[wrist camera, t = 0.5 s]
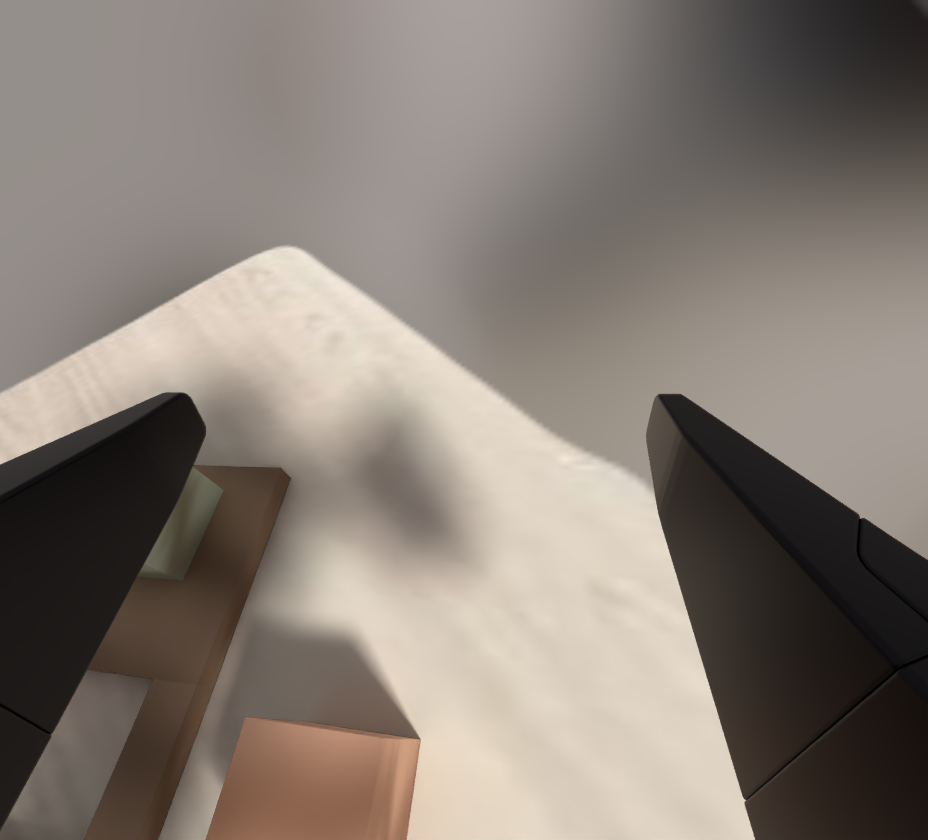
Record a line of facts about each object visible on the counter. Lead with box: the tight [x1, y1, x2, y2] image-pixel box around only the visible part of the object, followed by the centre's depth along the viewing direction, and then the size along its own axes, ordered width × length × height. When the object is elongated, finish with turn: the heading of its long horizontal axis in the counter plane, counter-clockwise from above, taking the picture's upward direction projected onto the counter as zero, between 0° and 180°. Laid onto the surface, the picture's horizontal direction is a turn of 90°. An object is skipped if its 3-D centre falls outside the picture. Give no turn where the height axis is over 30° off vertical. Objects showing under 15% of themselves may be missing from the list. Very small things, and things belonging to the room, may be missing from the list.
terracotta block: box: [206, 717, 421, 840], centre depth 16 cm, size 5×5×5 cm
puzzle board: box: [84, 465, 290, 840], centre depth 18 cm, size 28×11×5 cm, turn 173°
